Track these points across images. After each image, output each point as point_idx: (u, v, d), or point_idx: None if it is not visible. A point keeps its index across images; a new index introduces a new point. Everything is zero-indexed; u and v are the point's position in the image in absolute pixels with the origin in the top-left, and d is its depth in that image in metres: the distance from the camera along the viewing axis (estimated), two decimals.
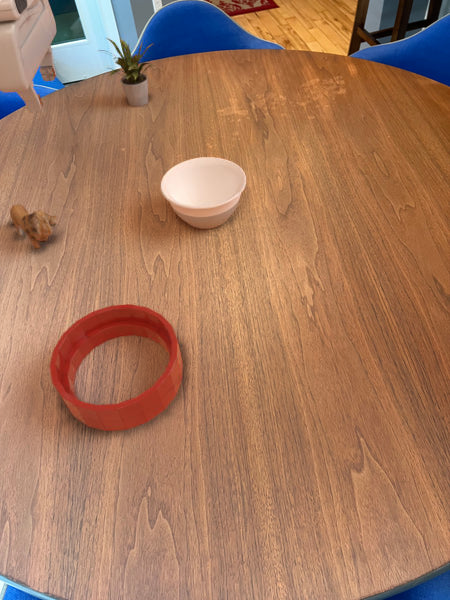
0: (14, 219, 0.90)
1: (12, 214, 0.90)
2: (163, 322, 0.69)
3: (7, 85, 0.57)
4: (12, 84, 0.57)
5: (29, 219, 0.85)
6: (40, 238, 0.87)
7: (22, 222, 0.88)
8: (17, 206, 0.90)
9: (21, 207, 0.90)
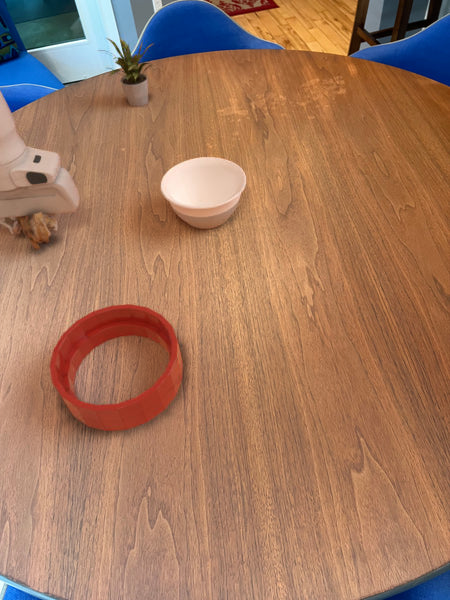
0: (18, 218, 0.91)
1: None
2: (163, 322, 0.69)
3: (78, 202, 0.87)
4: (78, 199, 0.87)
5: (27, 221, 0.84)
6: (38, 240, 0.87)
7: (23, 222, 0.88)
8: None
9: None
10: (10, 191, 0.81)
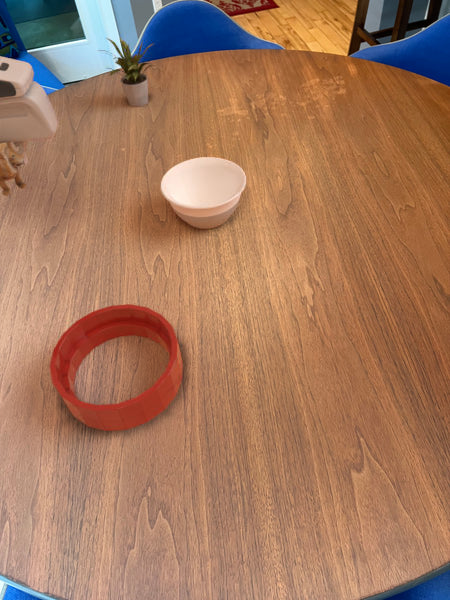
0: None
1: None
2: (163, 322, 0.69)
3: (55, 127, 0.72)
4: (56, 124, 0.73)
5: None
6: (0, 177, 0.71)
7: None
8: None
9: None
10: None
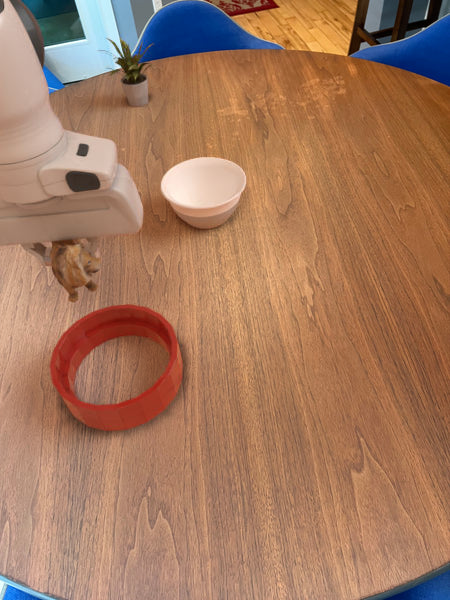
0: (52, 241, 0.59)
1: None
2: (163, 322, 0.69)
3: (142, 218, 0.55)
4: (142, 214, 0.56)
5: (56, 256, 0.52)
6: (69, 286, 0.54)
7: (54, 252, 0.56)
8: None
9: None
10: (38, 203, 0.49)
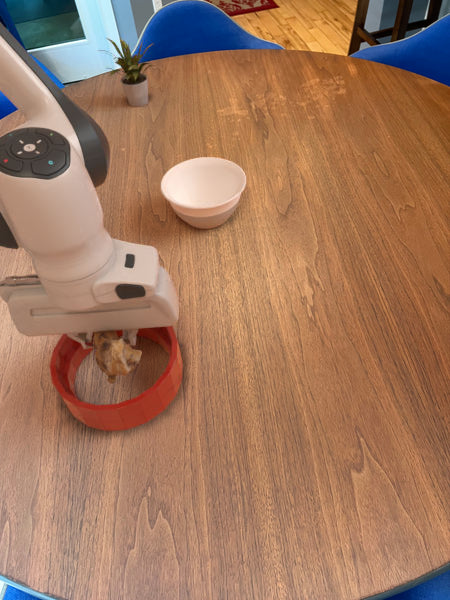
0: None
1: None
2: None
3: (178, 311, 0.60)
4: (178, 307, 0.60)
5: (101, 350, 0.57)
6: (111, 374, 0.59)
7: (97, 341, 0.61)
8: None
9: None
10: None
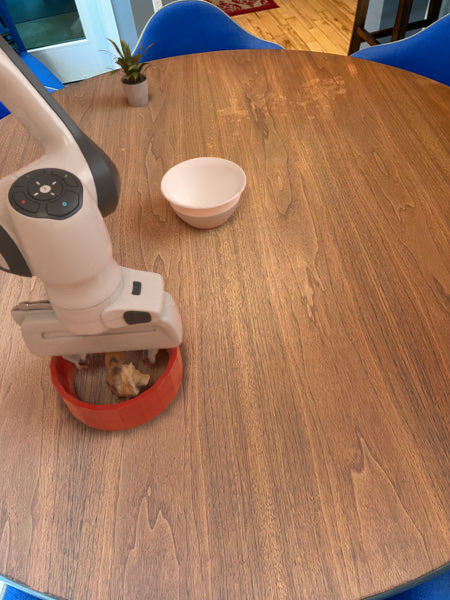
0: None
1: None
2: None
3: (182, 333, 0.63)
4: (182, 329, 0.64)
5: (112, 374, 0.61)
6: (121, 396, 0.63)
7: (108, 365, 0.65)
8: None
9: None
10: None
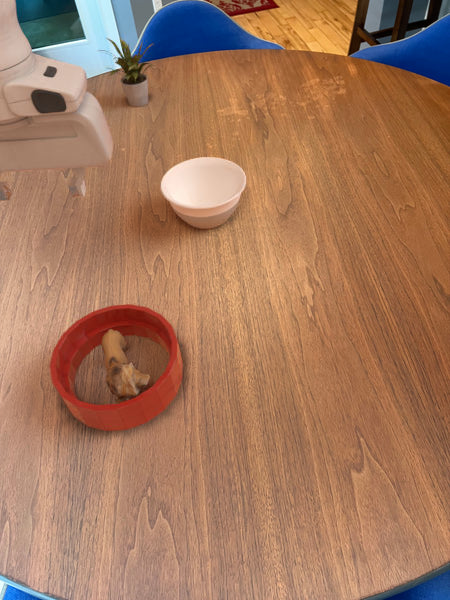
0: (104, 350, 0.68)
1: (102, 345, 0.67)
2: (163, 322, 0.69)
3: (111, 151, 0.55)
4: (112, 147, 0.56)
5: (112, 374, 0.61)
6: (121, 396, 0.63)
7: (108, 365, 0.65)
8: (111, 336, 0.67)
9: (116, 338, 0.67)
10: (4, 125, 0.49)
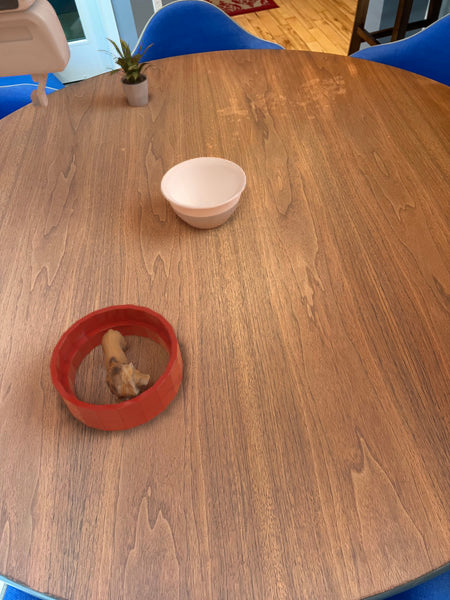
0: (104, 350, 0.68)
1: (102, 345, 0.67)
2: (163, 322, 0.69)
3: (67, 57, 0.58)
4: (68, 54, 0.59)
5: (112, 374, 0.61)
6: (121, 396, 0.63)
7: (108, 365, 0.65)
8: (111, 336, 0.67)
9: (116, 338, 0.67)
10: None
